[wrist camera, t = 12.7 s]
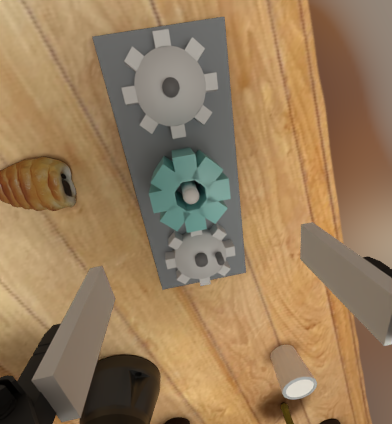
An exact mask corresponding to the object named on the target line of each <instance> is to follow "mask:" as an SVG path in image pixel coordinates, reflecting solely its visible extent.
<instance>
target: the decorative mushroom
mask: <svg viewBox="0 0 392 424" xmlns="http://www.w3.org/2000/svg"><path fill="white" fill-rule="evenodd" d="M281 410H282V412H283V415H284V418H285V421H286V424H294V423H293V420H292V418H291V415H290V412H289V407H288V405H287V404H286V403H283V404H281Z"/></svg>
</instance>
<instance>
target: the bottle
mask: <svg viewBox="0 0 392 424" xmlns="http://www.w3.org/2000/svg"><path fill="white" fill-rule="evenodd" d="M321 424H340V422H339V421H338V420H335V419H330V420H326V421H324V422H322V423H321Z"/></svg>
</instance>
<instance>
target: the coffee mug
mask: <svg viewBox="0 0 392 424" xmlns="http://www.w3.org/2000/svg"><path fill="white" fill-rule="evenodd" d="M165 424H190V422H189V421H188V420H187V419H185V418H173V419H170V420H168V421H167V422H166V423H165Z"/></svg>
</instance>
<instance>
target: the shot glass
mask: <svg viewBox="0 0 392 424" xmlns="http://www.w3.org/2000/svg"><path fill="white" fill-rule="evenodd" d="M270 358H271V361H272V364H273V367H274V370H275V373H276V376H277V379H278V382H279V385H280V388H281V391H282V394H283V395H284V397H285V398H287V399H294V400H295V399H300V398H303V397H306V396H308V395H309V394H311V393H312V392H313V391H314V390H315V388H316V386H317V382H316V380H315V378H314V377H313V375H312V374H311V372H310V371H309V369H308V368H307V366H306V365H305V363H304V362H303V360H302V359H301V357H300V356H299V354H298V353H297V351H296V350H295V348H294V347H293V346H291V345H281V346H279V347H276V348H275V349H274V350H273V351H272V353H271V356H270Z"/></svg>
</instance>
